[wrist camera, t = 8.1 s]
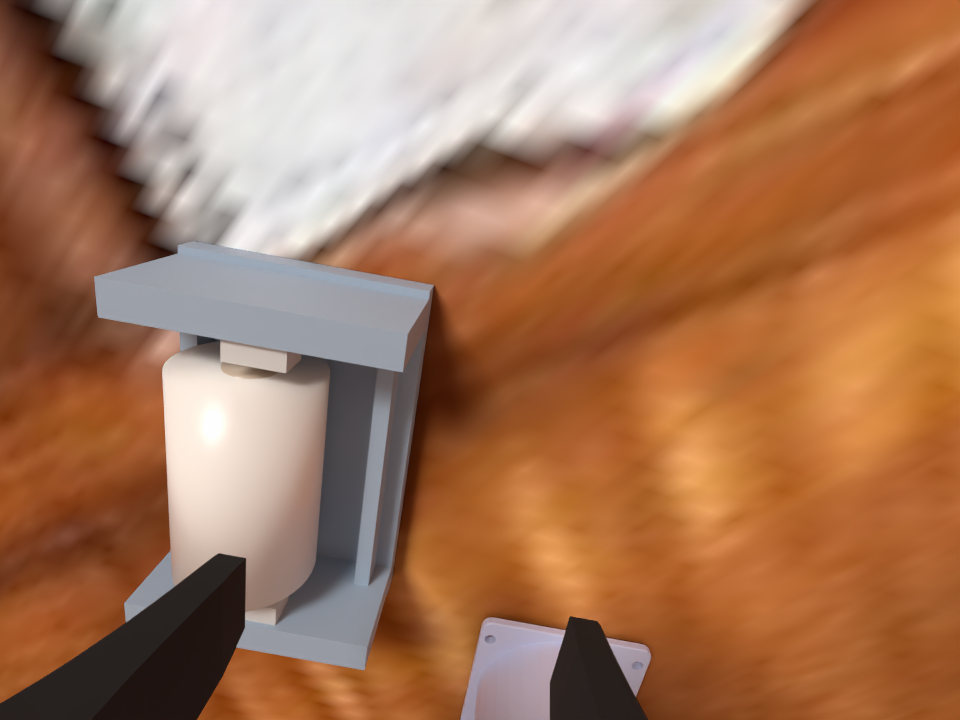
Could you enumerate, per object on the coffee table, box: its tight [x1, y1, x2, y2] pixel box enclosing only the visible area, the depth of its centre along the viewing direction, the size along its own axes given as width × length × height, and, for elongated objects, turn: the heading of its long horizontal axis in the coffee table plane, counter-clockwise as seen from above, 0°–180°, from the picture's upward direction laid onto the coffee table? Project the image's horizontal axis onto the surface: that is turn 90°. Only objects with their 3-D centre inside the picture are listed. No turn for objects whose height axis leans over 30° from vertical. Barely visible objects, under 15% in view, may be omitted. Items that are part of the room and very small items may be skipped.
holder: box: [94, 241, 434, 670], centre depth 20 cm, size 14×9×5 cm, turn 170°
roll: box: [162, 341, 330, 612], centre depth 19 cm, size 8×5×5 cm, turn 170°
